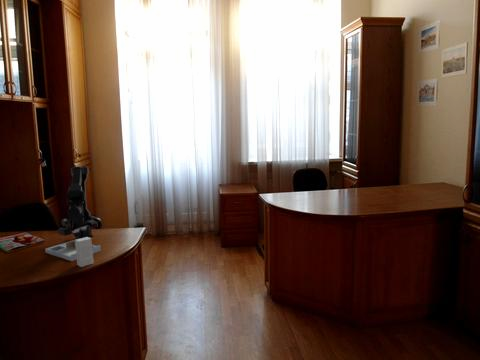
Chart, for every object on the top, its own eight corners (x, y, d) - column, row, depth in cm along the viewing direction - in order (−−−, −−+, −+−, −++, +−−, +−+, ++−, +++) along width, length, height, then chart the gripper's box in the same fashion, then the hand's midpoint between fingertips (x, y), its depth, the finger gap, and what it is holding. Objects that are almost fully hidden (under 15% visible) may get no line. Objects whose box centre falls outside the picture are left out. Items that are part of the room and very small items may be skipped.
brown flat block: (74, 245, 202) (74, 240, 202) (79, 246, 200) (79, 241, 199) (66, 247, 198) (65, 242, 198) (71, 249, 196) (71, 244, 196)
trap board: (74, 243, 211) (74, 238, 210) (100, 251, 199) (100, 245, 198) (45, 252, 198) (44, 246, 197) (71, 261, 186) (71, 255, 185)
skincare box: (89, 261, 185) (87, 236, 183) (93, 263, 182) (91, 238, 180) (76, 265, 181) (74, 239, 179) (80, 267, 178) (78, 241, 176)
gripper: (83, 208, 210) (86, 236, 213) (50, 216, 195) (53, 246, 198) (97, 210, 204) (99, 239, 207) (63, 219, 189) (66, 250, 192)
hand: (80, 243), depth 201 cm, fingers closed
